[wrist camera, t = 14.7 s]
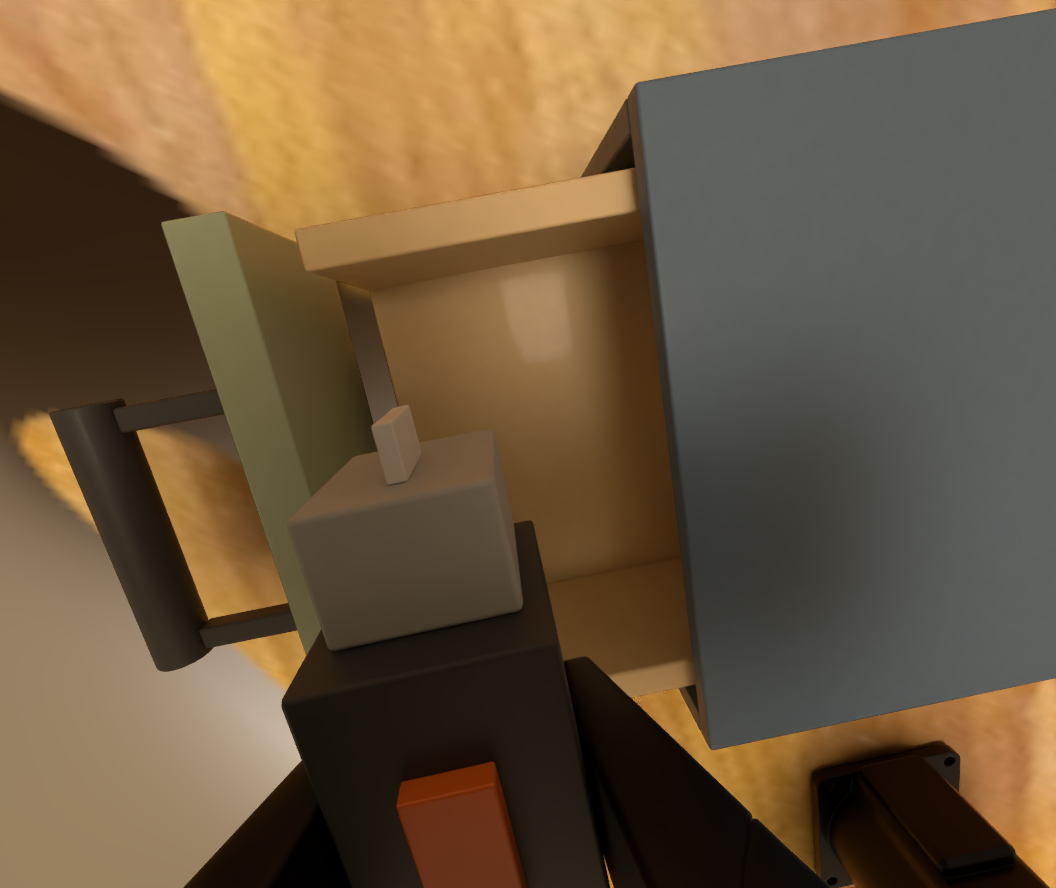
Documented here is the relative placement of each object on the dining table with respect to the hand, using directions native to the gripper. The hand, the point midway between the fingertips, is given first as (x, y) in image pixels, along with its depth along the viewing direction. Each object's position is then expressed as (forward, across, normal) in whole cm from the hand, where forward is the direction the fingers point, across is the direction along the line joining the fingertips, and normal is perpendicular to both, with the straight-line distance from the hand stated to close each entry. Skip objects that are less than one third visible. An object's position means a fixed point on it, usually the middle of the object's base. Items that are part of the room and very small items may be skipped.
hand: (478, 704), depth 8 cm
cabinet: (+11, -12, -2) cm, 16 cm away
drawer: (+10, 0, -2) cm, 10 cm away
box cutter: (+1, 0, 0) cm, 1 cm away
